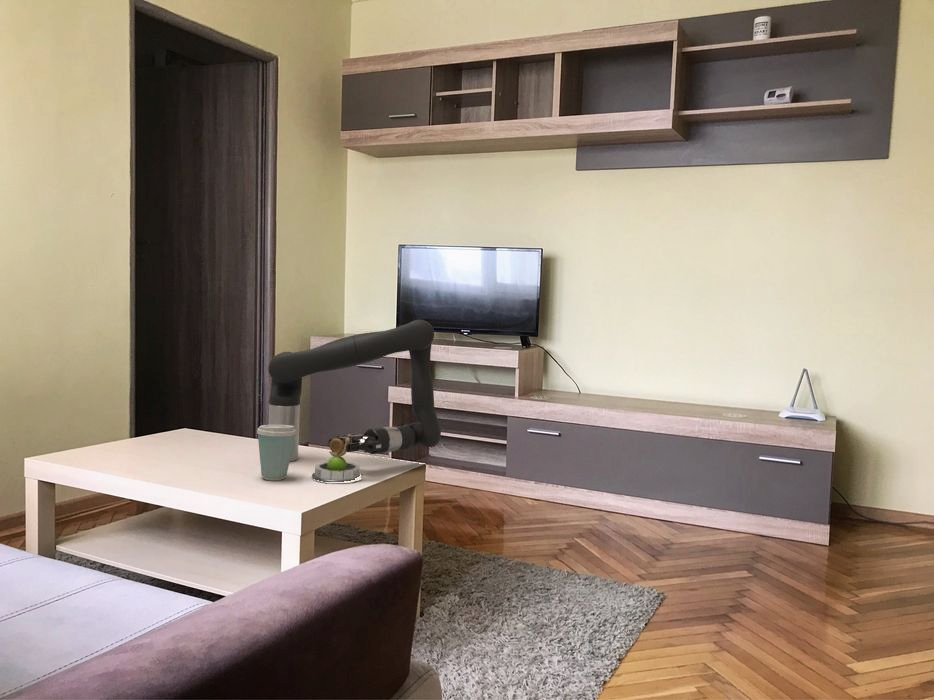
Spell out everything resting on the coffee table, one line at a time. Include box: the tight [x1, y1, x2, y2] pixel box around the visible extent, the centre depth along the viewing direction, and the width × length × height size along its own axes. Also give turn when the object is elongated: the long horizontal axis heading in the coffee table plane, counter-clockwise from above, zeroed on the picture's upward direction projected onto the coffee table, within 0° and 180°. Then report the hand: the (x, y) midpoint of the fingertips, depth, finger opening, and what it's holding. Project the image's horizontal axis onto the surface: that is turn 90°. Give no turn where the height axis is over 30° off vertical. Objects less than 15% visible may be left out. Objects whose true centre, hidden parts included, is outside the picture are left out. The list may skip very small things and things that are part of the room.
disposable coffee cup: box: [256, 424, 296, 481], centre depth 207 cm, size 11×11×15 cm
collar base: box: [311, 461, 361, 482], centre depth 212 cm, size 14×14×3 cm
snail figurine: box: [327, 433, 352, 471], centre depth 211 cm, size 5×6×12 cm
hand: (337, 445), depth 211 cm, fingers open, 8 cm apart
